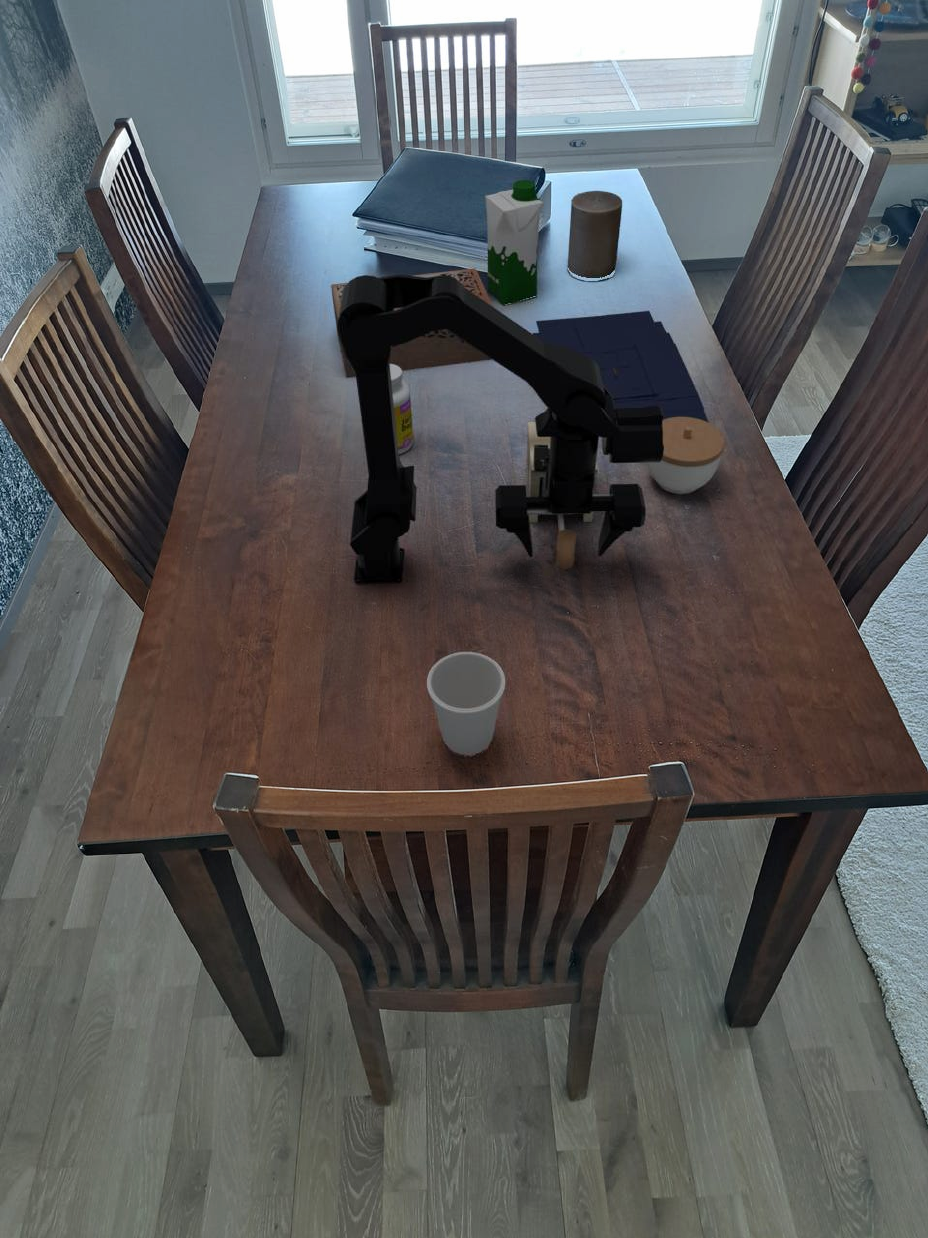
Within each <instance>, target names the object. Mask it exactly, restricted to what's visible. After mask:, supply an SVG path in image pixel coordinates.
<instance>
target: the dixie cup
mask: <svg viewBox="0 0 928 1238" xmlns="http://www.w3.org/2000/svg"><path fill="white" fill-rule="evenodd" d="M426 688H427V691H428V694H429V696H430V698H431V699H432V703H433V707H434V711H435V715H436V717H437V721H438V725H439V730H440V732H441V736H442V740H443V743H444V742H445V743H444V745H445V744H446V745H447V746H448V747H449V748H450V749H451V750H453V751H455V752H457V753H460V754H466V755H470V754H476V753H479V752H481V751H482V750H484V749H485V748H486V747H488V745H489V744H490V742H491V741H493V738H494V733H495V729H496V728H495V727H496V723H497V717H498V712H499V709H500V708H499V707H500V705H501V704H500V703H501V699H502V696H503V695H504V694H503V693H504V691H505V689H506V677H505V673H504V671H503V669H502V668H501V666H500V665H499V664H498V663H497V662H496V661H495V660H494V659H493V658H491V657H489V656H487V655H485V654H482V653H480V652H474V651H458V652H455V653H451V654H449V655H446V656H444V657H442V658H441V659H439V660H438V661H437V662H436V663H435V664H434V665H433V666H432V667H431V669H430V671H429V672H428V675H427V678H426ZM491 743H492V742H491ZM446 745H445V746H446ZM490 745H491V744H490ZM488 748H489V747H488Z"/></svg>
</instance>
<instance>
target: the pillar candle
mask: <svg viewBox="0 0 928 1238" xmlns="http://www.w3.org/2000/svg"><path fill="white" fill-rule="evenodd" d="M622 211H623V200H622V198H621V196H619V195H617V194H616V193H613V192H611V191H604V190H589V191H584V192H579V193H577V194H575V195H573V197H572V199H571V205H570V223H569V236H568V237H569V238H568V239H569V240H568V251H567V252H568V253H567V267H568V268H569V270H570V271H571V272H572V273H574V274H576V275H578V276H581V277H586V278H600V277H601V278H602V277H605V276H607V275H610V274H611V273H612V272H613V271H614V270H615V268H616V269H617V267H616V266H617V261H618V248H619V241H620V240H619V239H620V231H621V229H620V228H621V221H622Z"/></svg>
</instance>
